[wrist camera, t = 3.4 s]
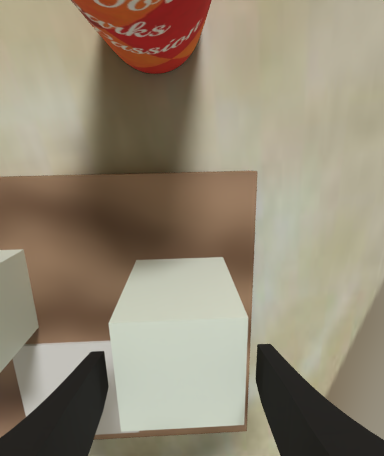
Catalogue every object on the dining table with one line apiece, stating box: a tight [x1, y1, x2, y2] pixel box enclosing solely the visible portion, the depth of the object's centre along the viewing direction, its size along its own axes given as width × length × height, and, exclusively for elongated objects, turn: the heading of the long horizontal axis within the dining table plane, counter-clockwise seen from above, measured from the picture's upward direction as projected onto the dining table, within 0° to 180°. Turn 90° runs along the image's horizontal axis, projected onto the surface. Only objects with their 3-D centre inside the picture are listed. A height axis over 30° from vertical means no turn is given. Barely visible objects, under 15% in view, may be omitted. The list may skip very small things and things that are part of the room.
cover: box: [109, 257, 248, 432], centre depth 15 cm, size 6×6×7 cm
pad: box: [12, 341, 139, 435], centre depth 20 cm, size 8×8×1 cm
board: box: [0, 171, 257, 439], centre depth 19 cm, size 21×22×1 cm
